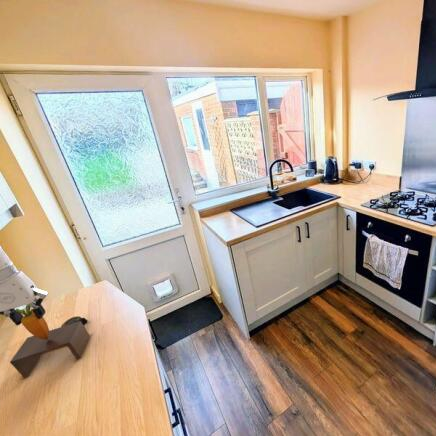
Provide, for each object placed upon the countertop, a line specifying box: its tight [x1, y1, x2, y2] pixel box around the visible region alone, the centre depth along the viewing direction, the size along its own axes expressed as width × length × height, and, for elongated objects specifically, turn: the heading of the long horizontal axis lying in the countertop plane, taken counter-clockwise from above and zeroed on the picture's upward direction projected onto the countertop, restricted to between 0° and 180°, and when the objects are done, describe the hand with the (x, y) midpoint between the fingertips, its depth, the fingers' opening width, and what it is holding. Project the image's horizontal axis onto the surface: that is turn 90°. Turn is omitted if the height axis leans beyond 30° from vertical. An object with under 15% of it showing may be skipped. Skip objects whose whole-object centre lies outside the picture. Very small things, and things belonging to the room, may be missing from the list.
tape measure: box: [60, 316, 88, 327], centre depth 98 cm, size 7×7×4 cm
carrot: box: [15, 304, 50, 340], centre depth 81 cm, size 5×5×15 cm
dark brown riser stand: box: [9, 321, 91, 379], centre depth 86 cm, size 16×10×8 cm, turn 111°
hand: (31, 318), depth 80 cm, fingers closed on carrot, 4 cm apart
